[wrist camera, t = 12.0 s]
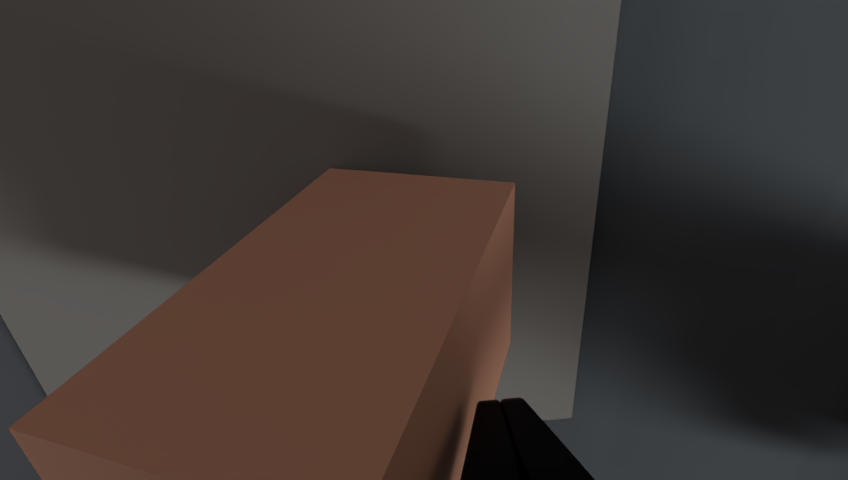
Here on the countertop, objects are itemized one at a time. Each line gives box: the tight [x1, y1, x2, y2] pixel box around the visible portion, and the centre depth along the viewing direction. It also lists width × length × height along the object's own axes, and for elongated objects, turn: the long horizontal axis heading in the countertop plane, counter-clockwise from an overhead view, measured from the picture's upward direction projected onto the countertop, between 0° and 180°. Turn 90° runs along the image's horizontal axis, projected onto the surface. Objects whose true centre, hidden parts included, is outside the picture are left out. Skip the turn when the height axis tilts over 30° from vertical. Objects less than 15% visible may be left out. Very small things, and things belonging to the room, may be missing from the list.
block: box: [8, 168, 515, 480], centre depth 11 cm, size 5×5×9 cm
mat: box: [0, 0, 621, 420], centre depth 16 cm, size 18×16×1 cm
